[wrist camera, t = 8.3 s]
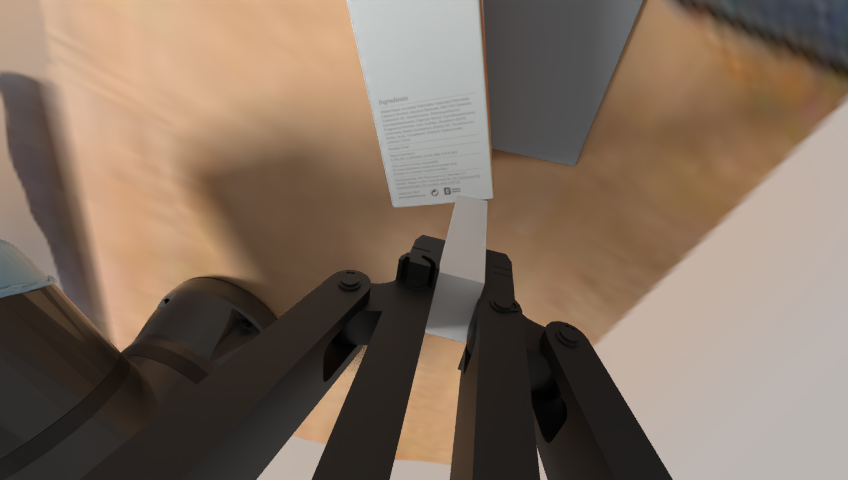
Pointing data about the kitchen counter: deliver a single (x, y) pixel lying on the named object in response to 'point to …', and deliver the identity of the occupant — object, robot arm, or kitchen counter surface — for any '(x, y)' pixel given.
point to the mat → (551, 71)
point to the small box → (427, 96)
